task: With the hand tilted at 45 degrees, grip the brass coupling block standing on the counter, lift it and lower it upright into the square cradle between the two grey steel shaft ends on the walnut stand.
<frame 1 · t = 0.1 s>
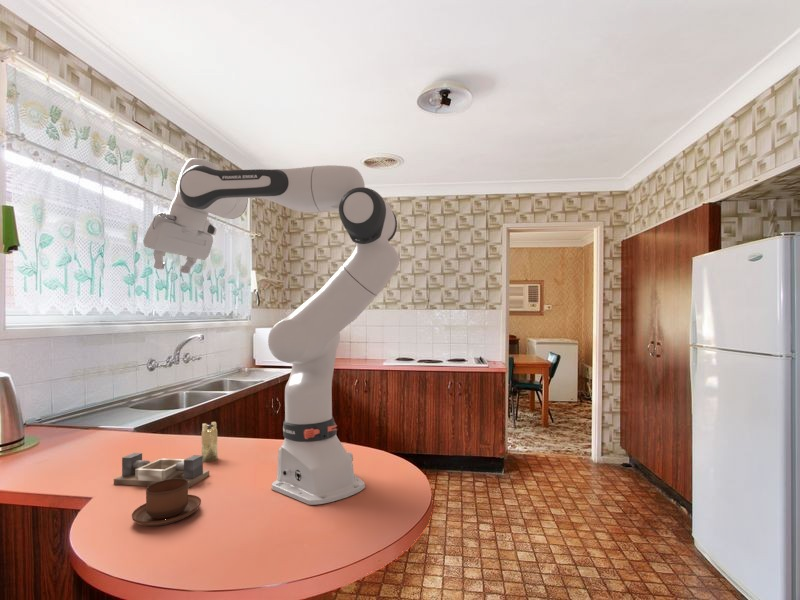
hand: (172, 270, 110), 52 cm above the counter, tool tilted 20°, fingers open, 8 cm apart
cup and saucer: (167, 518, 83), on the counter
coupling: (209, 459, 117), on the counter
shaft stand: (162, 479, 103), on the counter
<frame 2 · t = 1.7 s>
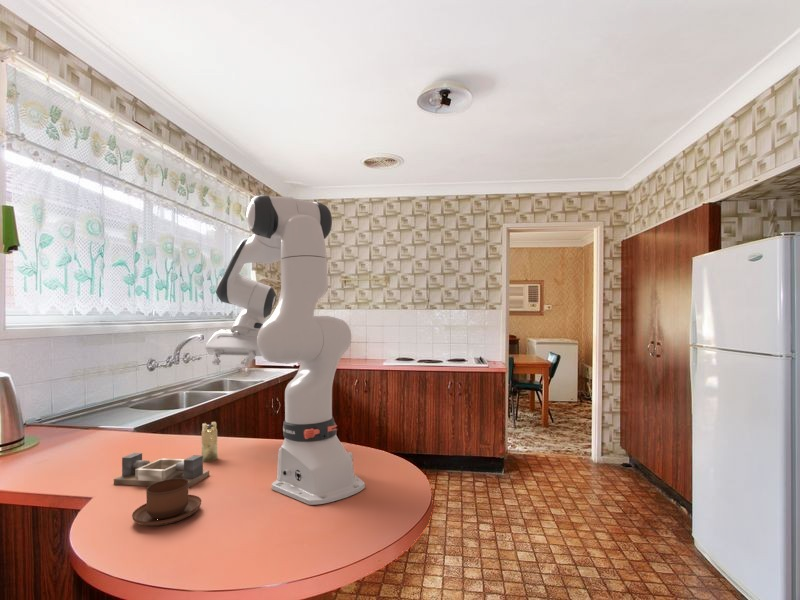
hand: (229, 364, 130), 25 cm above the counter, tool tilted 45°, fingers open, 8 cm apart
nothing on the counter moved.
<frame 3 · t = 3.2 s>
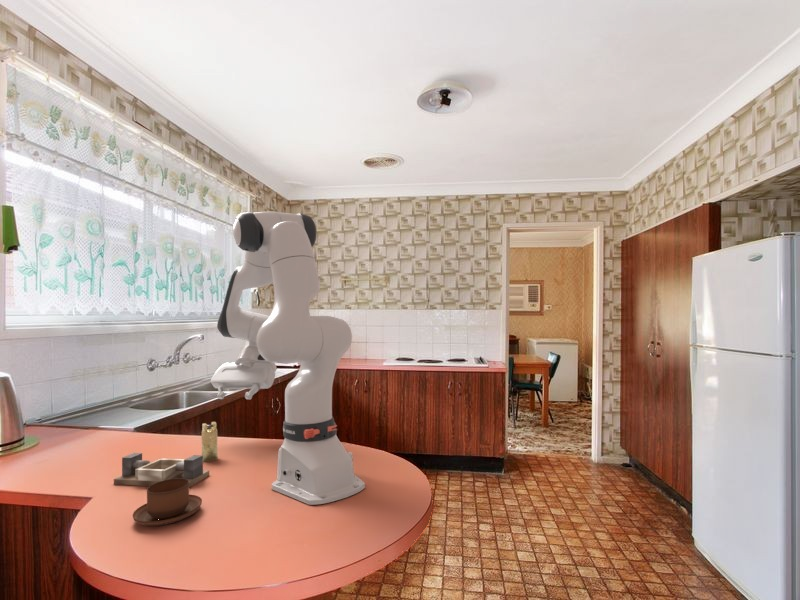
hand: (233, 398, 130), 15 cm above the counter, tool tilted 45°, fingers open, 8 cm apart
nothing on the counter moved.
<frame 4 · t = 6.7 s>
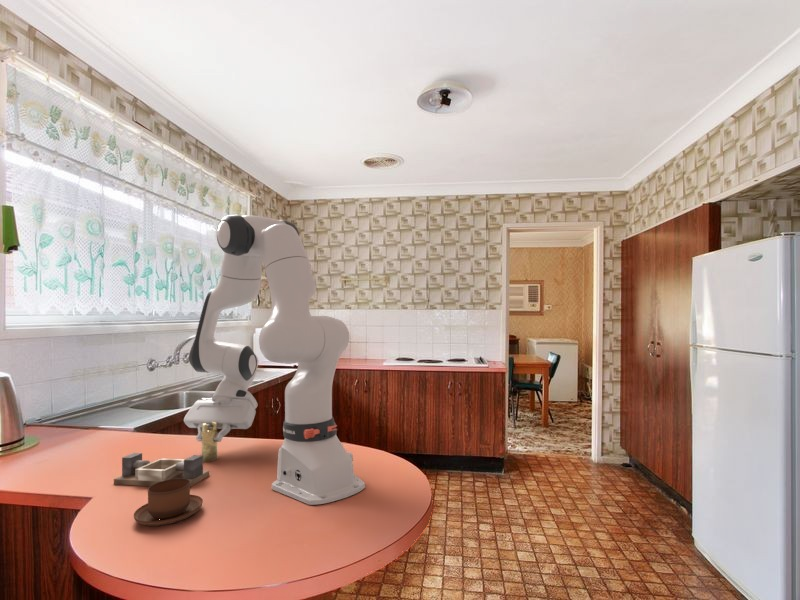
hand: (208, 440, 117), 5 cm above the counter, tool tilted 45°, fingers closed on coupling, 4 cm apart
coupling: (209, 459, 117), on the counter, touching gripper
everything else where it was.
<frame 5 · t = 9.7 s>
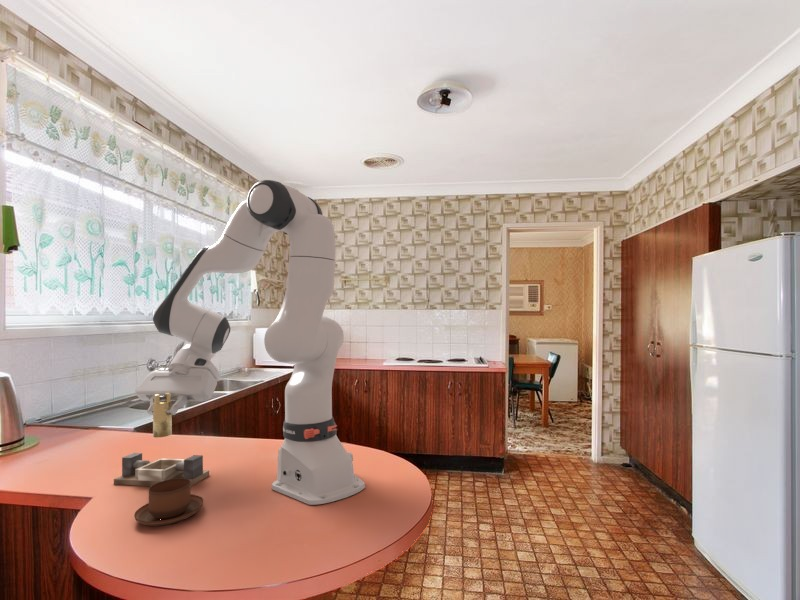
hand: (160, 413, 103), 16 cm above the counter, tool tilted 45°, fingers closed on coupling, 4 cm apart
coupling: (162, 435, 104), point 11 cm above the counter, touching gripper
everything else where it was.
when the fingers open (8 cm above the counter, at t = 11.8 s): coupling drops 1 cm, resting on shaft stand.
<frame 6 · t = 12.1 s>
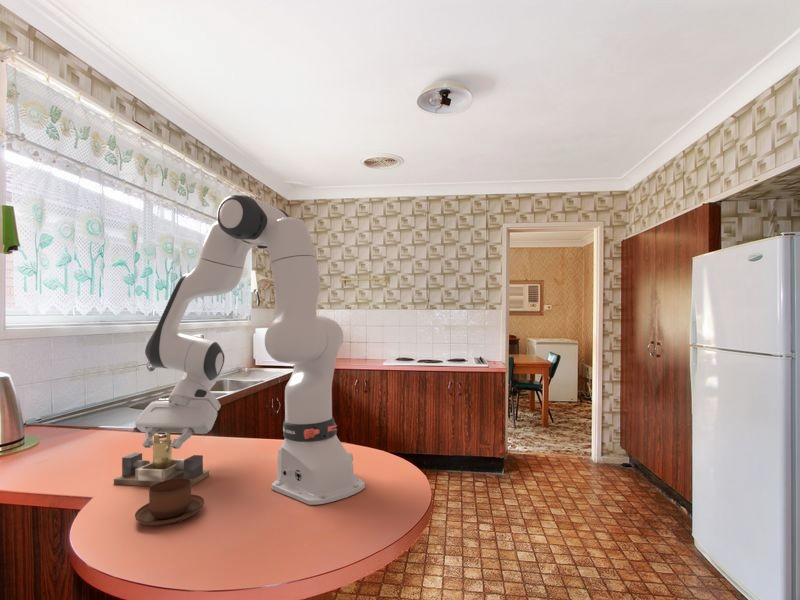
hand: (160, 447, 103), 8 cm above the counter, tool tilted 45°, fingers open, 7 cm apart
coupling: (162, 474, 103), point 1 cm above the counter, touching shaft stand
everything else where it was.
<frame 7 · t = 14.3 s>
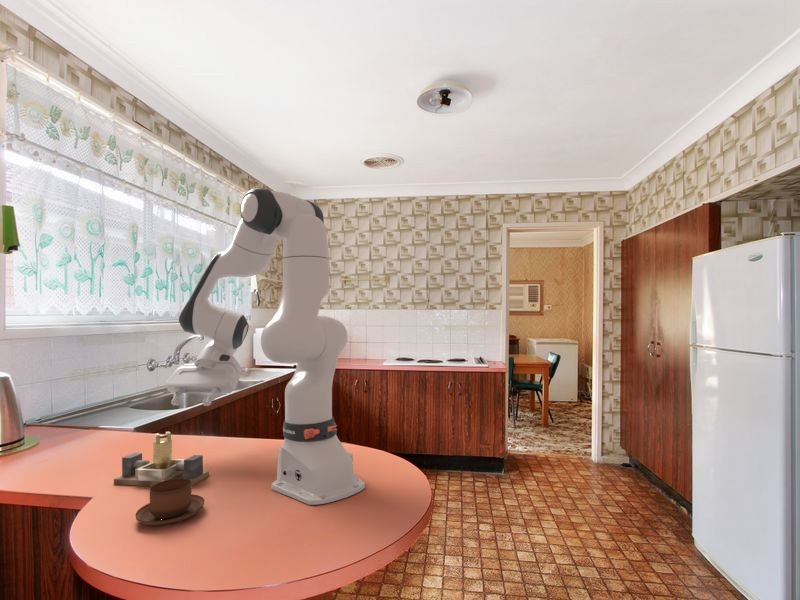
hand: (189, 404, 114), 16 cm above the counter, tool tilted 45°, fingers open, 8 cm apart
nothing on the counter moved.
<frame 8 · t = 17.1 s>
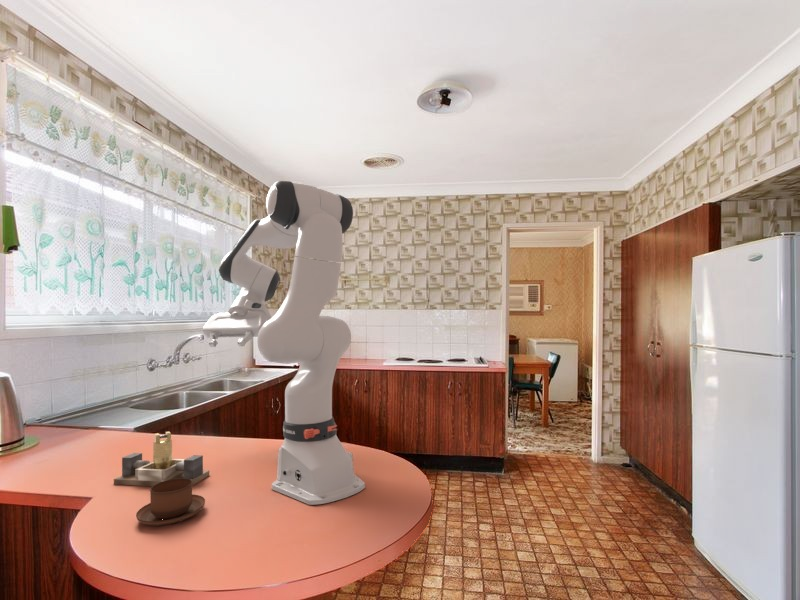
hand: (226, 345, 124), 31 cm above the counter, tool tilted 45°, fingers open, 8 cm apart
nothing on the counter moved.
at the end: coupling 0.1 cm off-centre on the shaft stand, point 1.2 cm above the shaft stand's base; coupling tilted 0°; the gripper is holding nothing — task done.
